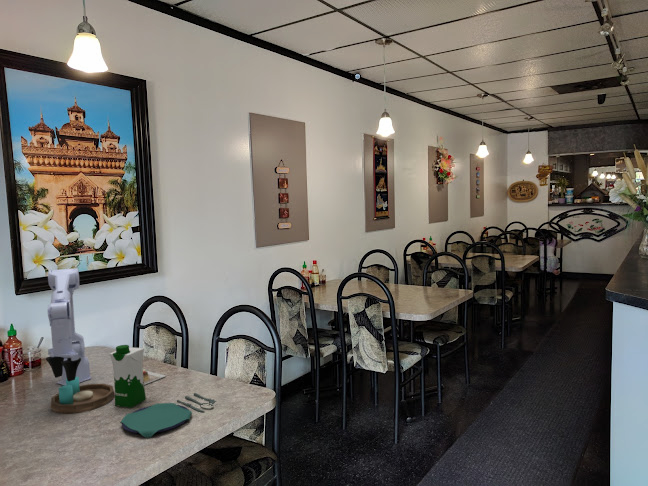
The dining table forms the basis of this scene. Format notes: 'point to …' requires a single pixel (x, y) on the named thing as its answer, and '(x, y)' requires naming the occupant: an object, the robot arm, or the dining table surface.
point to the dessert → (146, 376)
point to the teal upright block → (74, 385)
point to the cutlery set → (160, 417)
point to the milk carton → (128, 376)
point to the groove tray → (86, 405)
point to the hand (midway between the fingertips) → (64, 378)
